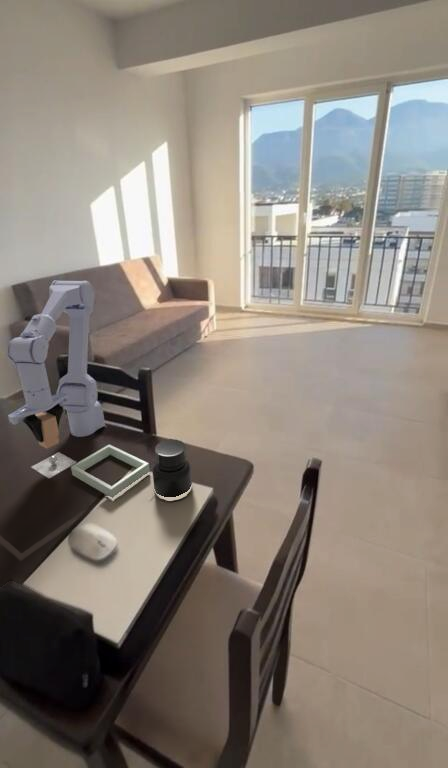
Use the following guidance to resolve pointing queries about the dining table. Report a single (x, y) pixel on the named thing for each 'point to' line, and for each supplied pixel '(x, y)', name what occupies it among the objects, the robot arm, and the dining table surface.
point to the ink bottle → (171, 469)
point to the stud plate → (53, 465)
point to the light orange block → (48, 429)
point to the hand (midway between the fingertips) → (47, 436)
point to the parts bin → (102, 486)
